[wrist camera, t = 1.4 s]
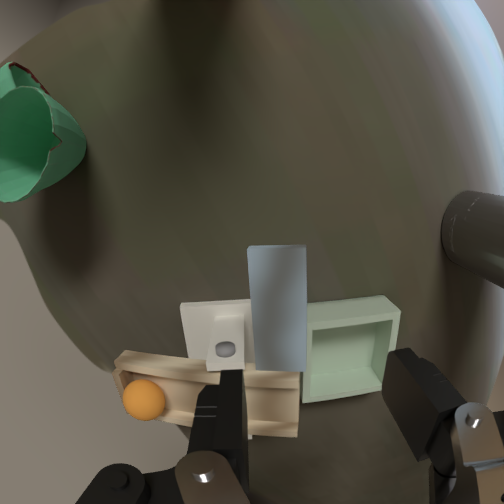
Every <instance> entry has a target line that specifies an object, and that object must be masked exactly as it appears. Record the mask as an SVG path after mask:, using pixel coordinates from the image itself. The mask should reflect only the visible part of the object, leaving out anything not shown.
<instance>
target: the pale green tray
mask: <svg viewBox="0 0 504 504" xmlns="http://www.w3.org/2000/svg"><path fill="white" fill-rule="evenodd" d="M400 313H401V311H400V310H399V309H398V308H397V307H396V306H395V305H394V304H393V303H392V302H391V301H389V300H388V299H387V298H386V297H385V296H384V295H378V296H370V297H361V298H353V299H344V300H334V301H325V302H315V303H307V359H306V372H300V395H301V400H302V403H309V402H316V401H323V400H330V399H337V398H343V397H349V396H354V395H360V394H365V393H370V392H375V391H379V390H382V381H383V376H384V371H385V365H386V360H387V355H388V353H389V352H390V351H394V350H395V347H396V341H397V335H398V328H399V321H400Z"/></svg>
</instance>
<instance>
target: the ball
mask: <svg viewBox="0 0 504 504" xmlns="http://www.w3.org/2000/svg"><path fill="white" fill-rule="evenodd" d="M123 404H124V407H125V409H126V410H127V412H128V413H129V414H130V415H131V416H133V417H134V418H136V419H138V420H143V421H149V420H153V419H155V418H157V417H158V416H159V415H160V414H161V413H162V412H163V410H164V407H165V396H164V393H163V391H162V390H161V388H160V387H159V386H158V385H157V384H155V383H154V382H152V381H150V380H145V379H139V380H135V381H133V382H131V383H130V384H128V385H127V387H126V388H125V390H124V392H123Z"/></svg>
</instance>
